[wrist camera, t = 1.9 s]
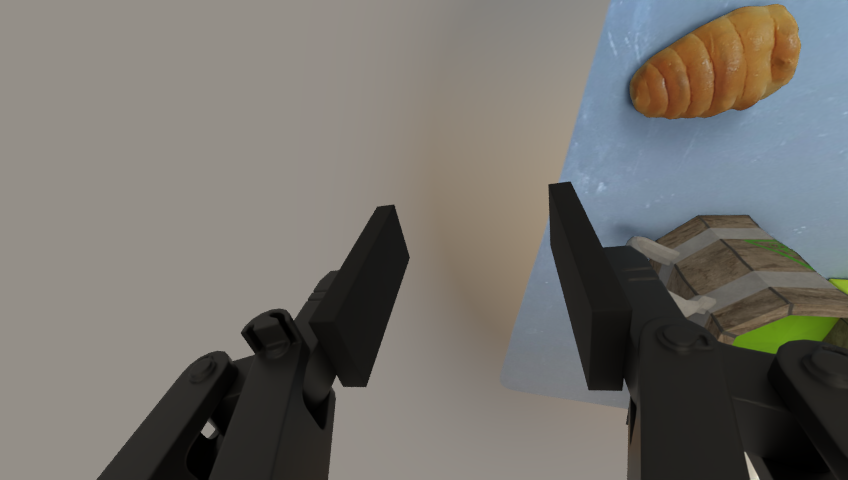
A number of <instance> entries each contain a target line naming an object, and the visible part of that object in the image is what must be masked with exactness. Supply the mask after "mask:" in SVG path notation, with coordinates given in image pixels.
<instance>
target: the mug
mask: <svg viewBox="0 0 848 480" xmlns="http://www.w3.org/2000/svg"><path fill="white" fill-rule="evenodd" d="M628 245H630V246H632V247H633V248H635V249H637V250H638V251H640V252H641V253H643V254H644V255H645V256H646V257H647V258H649V259H650V260H649V262H650V264H651V265H652V267H653V270H655V271H656V273H657V274H658V276H659V279H660V280H661V281H662V282H663V284H664V285H665V287H666V288H667V290H668V291H669V293H670V294H671V296H672V297H673V299H674V301H675V302H676V304H677V305H678V307H679V308H680V310H681V311H682V313H683V314H684V316H685V317H686V319H687V320H690V321H692V322H694V323H696V324H698V325H700V326H702V327H704V328H705V329H707V330H708V331H709V332H710V333H711V334H712V335H714V336H715V338H716V339H717V341H720V342H722V343H725V344H729V345H733V346H737V347H742V348H747V349H752V350H757V351H762V352H767V353H773V354H776V352H777V350H778V348H779V346H781V345H783V344H785V343H786V342H788V341H794V340H803V339H806V340H814V341H821V342H826V343H829V344H833V345H836V346H839V347H842V348H845V349H848V294H846V293H844V292H843V291H841V290H839V289H838V288H836V287H835V286H834V285H832V284H831V283H830V282H829V281H827V280H826V279H825V278H823V277H822V276H821V275H820V274H818V273H817V272H816V271H815V270H814V269H813V268H812V267H811V266H810V265H809V264H808V263H807V262H806V261H805V260H804V259H803V258H802V257H801V256H800V255H799V254H798V253H796V252H795V251H793V250H792V249H790V248H788V247H787V246H785V245H783V244H782V243H780V242H778V241H777V240H775V239H774V238H773V237H771V236H770V235H769V234H767V233H766V232H765V231H764V230H762V229H761V228H760V227H759V226H758V225H757V224H756V223H755V222H754V220H753V219H752V218H751V217H750V216H749V215H705V216H696V217H695V218H693V219H691V220H690V221H688V222H687V223H685V224H683V225H682V226H680V227H678V228H677V229H675V230H673V231H672V232H670V233H668V234H667V235H665V236H663V237H662V238H660V239H658V240H657V241H655V242H654V241H652V240H650V239H648V238H644V237H632V238H631V239H630V240H628V242H627V244H626V245H625V246H628Z"/></svg>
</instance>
